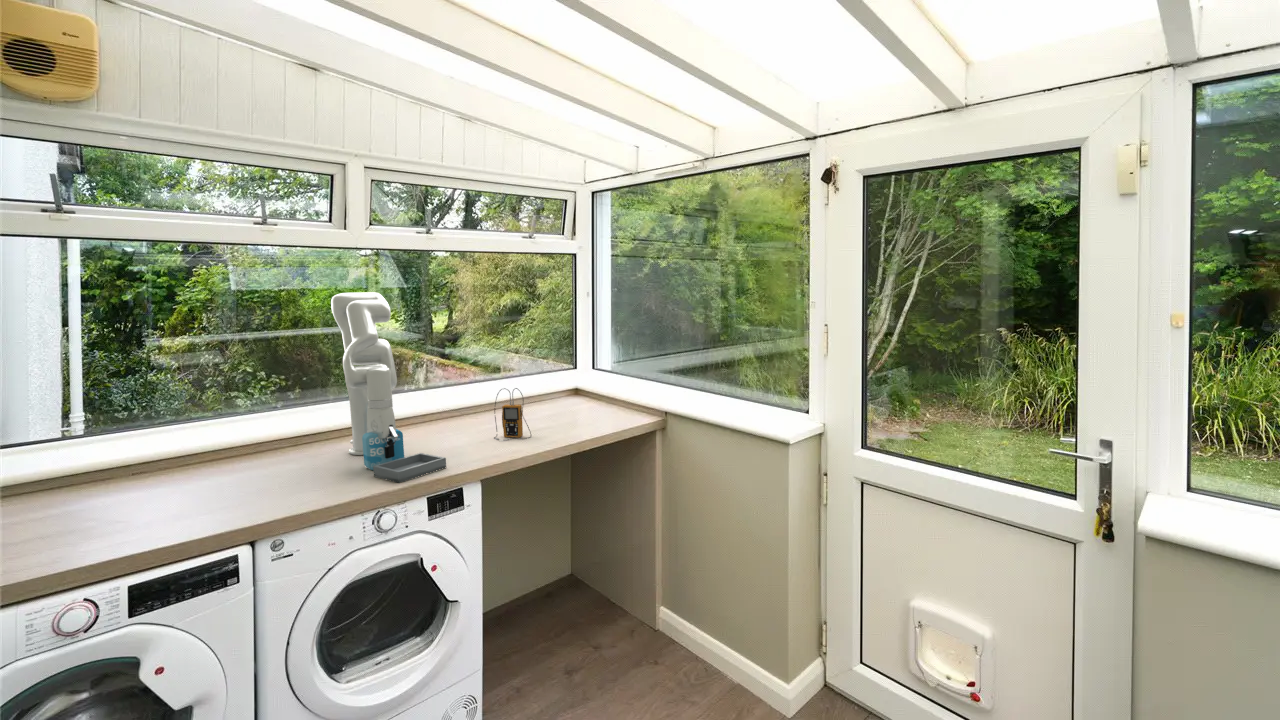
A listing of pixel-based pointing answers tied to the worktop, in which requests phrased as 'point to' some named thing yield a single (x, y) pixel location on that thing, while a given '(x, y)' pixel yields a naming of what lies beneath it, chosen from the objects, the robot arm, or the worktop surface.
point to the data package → (380, 449)
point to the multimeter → (512, 419)
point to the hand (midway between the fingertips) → (384, 455)
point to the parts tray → (409, 467)
